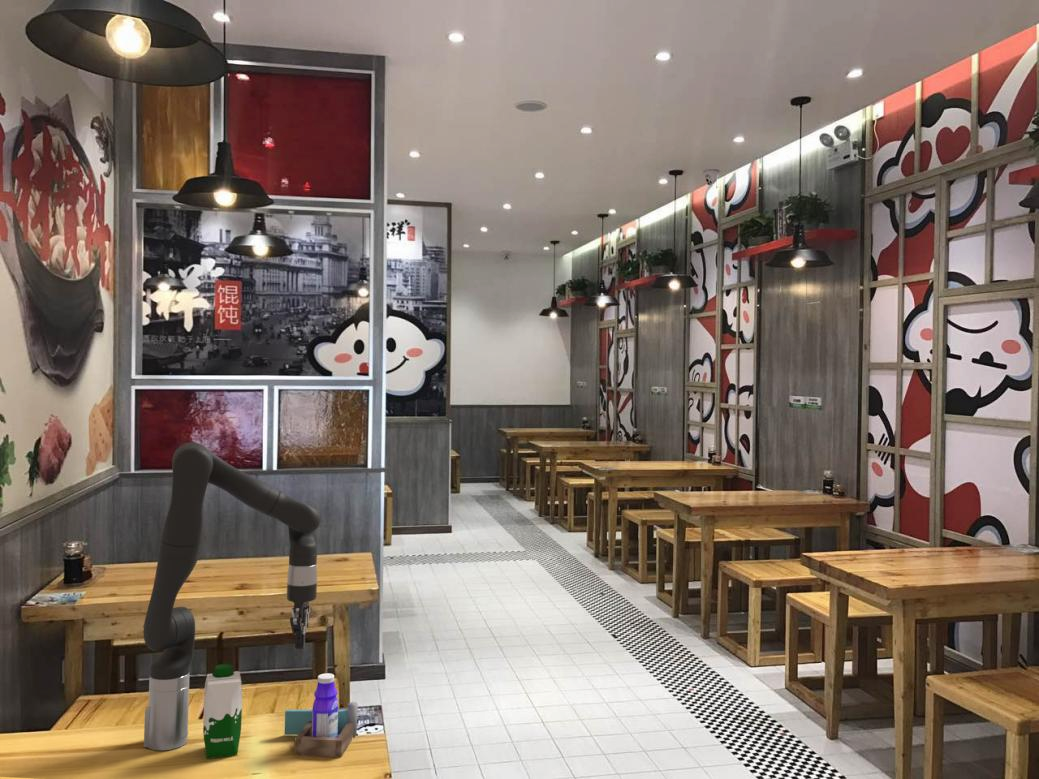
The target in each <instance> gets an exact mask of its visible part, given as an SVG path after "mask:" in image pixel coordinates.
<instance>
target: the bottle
mask: <svg viewBox="0 0 1039 779" xmlns="http://www.w3.org/2000/svg"><path fill="white" fill-rule="evenodd" d="M313 695H314V701H313V704H312V709H311V710H312V711H313V716H312V737H330V738H338V736H339V735H338V710H339V700H338V698H337V695H338V690H337V688H336V686H335V675H334V674H333V673H328V672H327V673H322V674H319V675H318V676H317V686H316V689H315V691H314V694H313Z"/></svg>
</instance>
